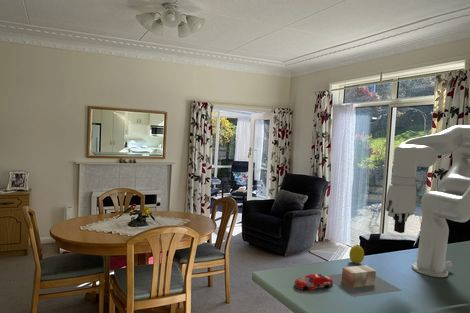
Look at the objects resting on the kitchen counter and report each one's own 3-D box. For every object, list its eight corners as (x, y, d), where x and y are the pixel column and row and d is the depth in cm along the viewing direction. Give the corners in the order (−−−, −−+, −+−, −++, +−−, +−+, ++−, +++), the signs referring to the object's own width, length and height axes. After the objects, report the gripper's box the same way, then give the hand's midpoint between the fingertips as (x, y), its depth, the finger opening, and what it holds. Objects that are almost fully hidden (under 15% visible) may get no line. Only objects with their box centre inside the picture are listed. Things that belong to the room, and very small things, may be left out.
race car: (298, 292, 116) (299, 280, 115) (291, 285, 121) (292, 273, 120) (334, 289, 119) (336, 278, 119) (326, 282, 125) (327, 271, 124)
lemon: (364, 268, 140) (366, 248, 140) (349, 265, 141) (351, 246, 141) (362, 262, 146) (364, 243, 145) (347, 260, 147) (349, 241, 146)
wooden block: (365, 265, 128) (342, 267, 124) (376, 270, 123) (352, 273, 119) (364, 278, 128) (341, 281, 124) (374, 284, 124) (350, 287, 120)
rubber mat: (367, 272, 136) (368, 271, 136) (401, 291, 121) (401, 290, 121) (323, 277, 128) (323, 275, 128) (353, 298, 114) (353, 296, 113)
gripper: (410, 178, 133) (406, 227, 135) (378, 179, 127) (374, 230, 129) (428, 182, 126) (423, 233, 128) (395, 183, 120) (390, 237, 122)
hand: (399, 231), depth 129 cm, fingers closed
